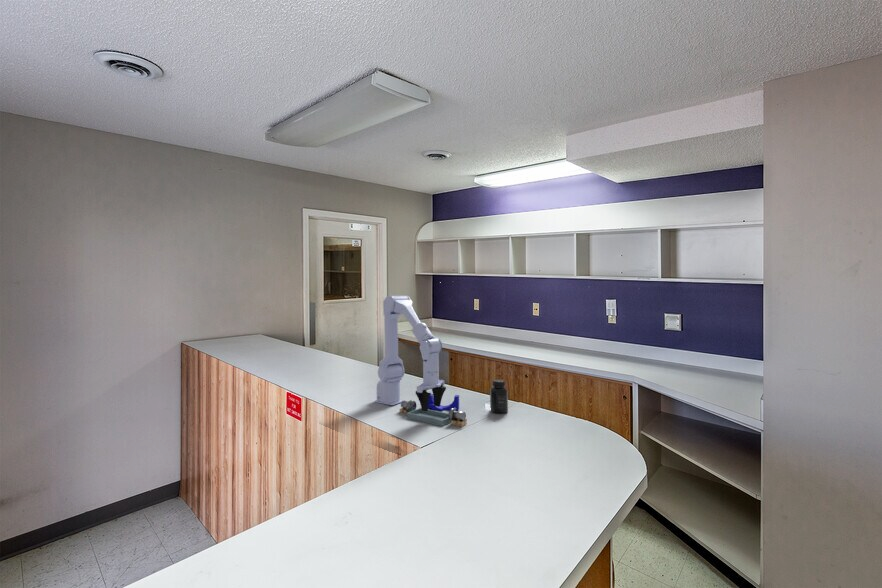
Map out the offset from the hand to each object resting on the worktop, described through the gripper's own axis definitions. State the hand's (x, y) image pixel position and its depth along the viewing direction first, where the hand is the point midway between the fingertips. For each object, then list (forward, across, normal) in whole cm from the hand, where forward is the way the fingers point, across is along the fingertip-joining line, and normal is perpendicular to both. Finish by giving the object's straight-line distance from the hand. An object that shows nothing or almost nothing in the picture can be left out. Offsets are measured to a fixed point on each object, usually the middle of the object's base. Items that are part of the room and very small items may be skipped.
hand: (431, 408), depth 151 cm
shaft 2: (+4, 0, -9) cm, 10 cm away
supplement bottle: (+4, +23, -16) cm, 28 cm away
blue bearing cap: (+4, +11, +2) cm, 12 cm away
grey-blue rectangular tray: (+4, 0, 0) cm, 4 cm away
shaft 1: (+4, 0, +9) cm, 10 cm away
